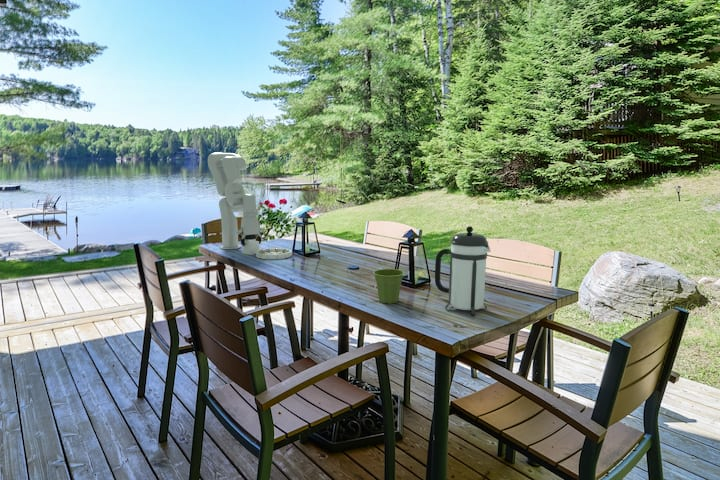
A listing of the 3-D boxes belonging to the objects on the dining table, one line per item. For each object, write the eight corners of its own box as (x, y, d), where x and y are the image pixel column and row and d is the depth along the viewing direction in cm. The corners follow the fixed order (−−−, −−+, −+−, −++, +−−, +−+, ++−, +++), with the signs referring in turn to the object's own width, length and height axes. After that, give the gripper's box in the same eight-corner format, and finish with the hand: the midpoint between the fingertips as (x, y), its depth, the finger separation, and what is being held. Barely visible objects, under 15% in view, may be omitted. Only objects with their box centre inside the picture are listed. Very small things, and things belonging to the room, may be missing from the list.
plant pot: (384, 294, 173) (385, 267, 171) (410, 300, 165) (410, 271, 163) (366, 301, 164) (366, 272, 162) (392, 307, 156) (392, 277, 154)
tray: (250, 254, 250) (250, 249, 250) (281, 251, 262) (281, 246, 262) (265, 260, 234) (265, 255, 234) (297, 256, 246) (297, 251, 246)
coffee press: (479, 302, 163) (483, 223, 158) (493, 316, 148) (498, 229, 143) (433, 302, 163) (436, 223, 158) (442, 316, 147) (446, 229, 142)
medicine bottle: (259, 253, 256) (259, 233, 254) (250, 255, 250) (250, 234, 248) (251, 251, 259) (250, 232, 257) (242, 253, 253) (241, 233, 252)
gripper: (261, 214, 259) (262, 242, 261) (232, 216, 249) (234, 245, 251) (266, 214, 253) (267, 243, 255) (237, 216, 243) (239, 247, 245)
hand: (251, 244), depth 253 cm, fingers open, 9 cm apart
